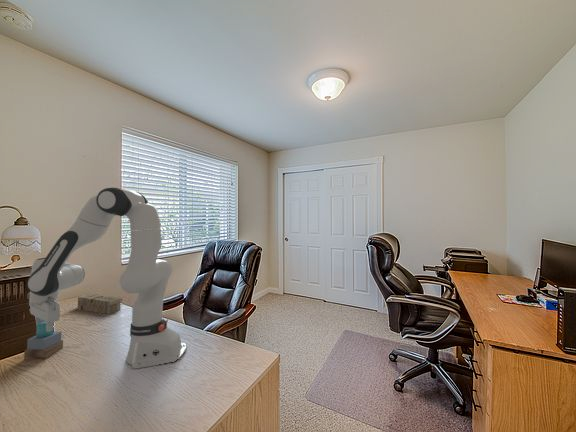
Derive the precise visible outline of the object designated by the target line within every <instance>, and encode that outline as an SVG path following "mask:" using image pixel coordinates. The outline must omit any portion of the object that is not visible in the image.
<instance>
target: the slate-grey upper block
mask: <svg viewBox="0 0 576 432" xmlns="http://www.w3.org/2000/svg"><path fill="white" fill-rule="evenodd" d="M61 340H62V331H53V334H52V335H50V336H47V337H43V338H36V335H34V336H31V337H30V338H28V339H27V345H26V350H27V349H33V350H45V349H47V348H48V347H50V346H52V345H54V344H56V343H58V342H60V341H61Z"/></svg>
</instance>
